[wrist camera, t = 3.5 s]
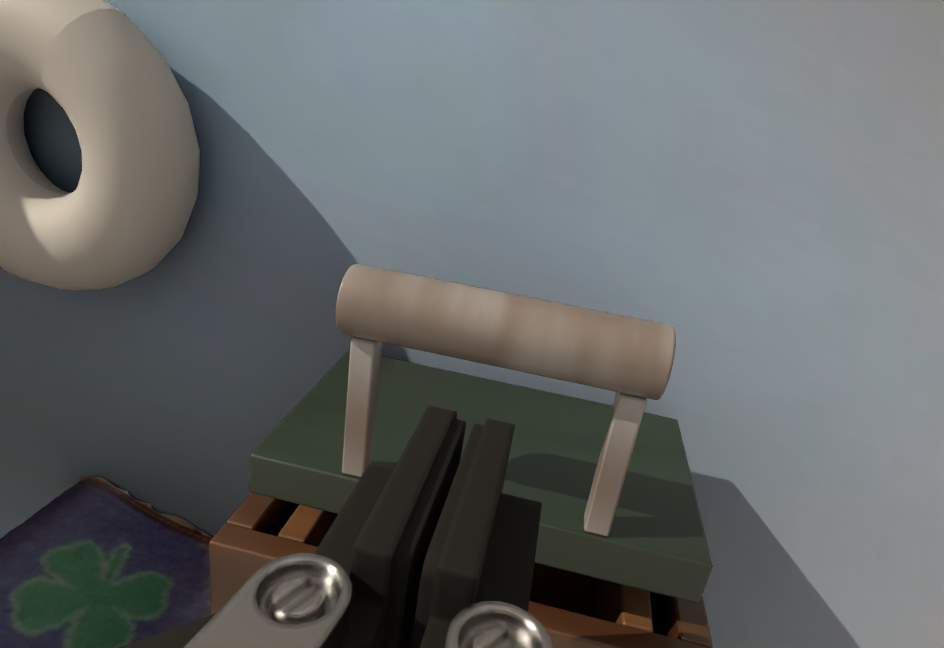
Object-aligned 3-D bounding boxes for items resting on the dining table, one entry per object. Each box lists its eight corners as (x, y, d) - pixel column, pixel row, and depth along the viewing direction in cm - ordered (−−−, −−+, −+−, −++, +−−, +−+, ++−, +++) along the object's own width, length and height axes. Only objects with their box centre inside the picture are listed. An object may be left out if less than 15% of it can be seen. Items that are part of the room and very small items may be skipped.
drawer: (359, 198, 20) (237, 255, 13) (725, 265, 18) (798, 365, 12) (329, 628, 27) (241, 806, 20) (591, 699, 25) (589, 916, 19)
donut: (-36, 211, 24) (192, 317, 23) (-136, 229, 21) (126, 353, 20) (-26, -72, 20) (249, 49, 19) (-146, -103, 17) (179, 41, 16)
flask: (266, 559, 27) (76, 826, 17) (248, 601, 28) (61, 873, 19) (81, 463, 27) (-211, 674, 17) (71, 508, 28) (-208, 731, 19)
